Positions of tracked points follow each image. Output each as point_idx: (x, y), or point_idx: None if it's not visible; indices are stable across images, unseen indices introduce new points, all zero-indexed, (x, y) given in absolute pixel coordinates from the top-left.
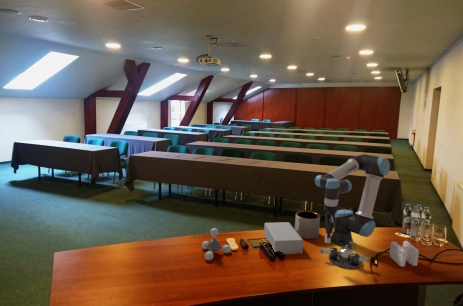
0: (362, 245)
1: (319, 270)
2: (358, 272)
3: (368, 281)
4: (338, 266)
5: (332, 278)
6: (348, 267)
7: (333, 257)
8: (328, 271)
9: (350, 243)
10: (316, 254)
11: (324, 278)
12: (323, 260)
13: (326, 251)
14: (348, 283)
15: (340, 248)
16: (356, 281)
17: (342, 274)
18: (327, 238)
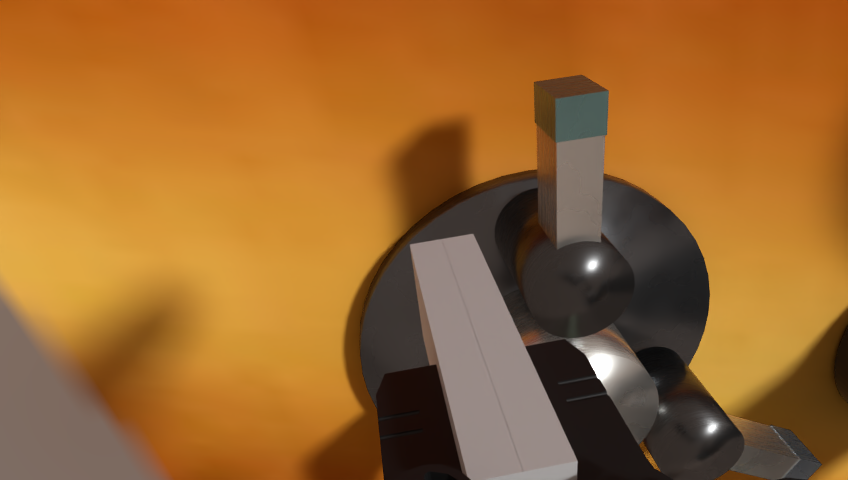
0: (833, 476)
1: (209, 17)
2: (316, 417)
3: (173, 472)
4: (385, 259)
5: (62, 170)
6: (360, 355)
7: (503, 239)
8: (227, 137)
9: (759, 465)
10: (669, 17)
11: (6, 67)
12: (508, 100)
13: (549, 176)
14: (37, 322)
15: (618, 367)
16: (123, 390)
17: (216, 283)
18: (434, 355)
